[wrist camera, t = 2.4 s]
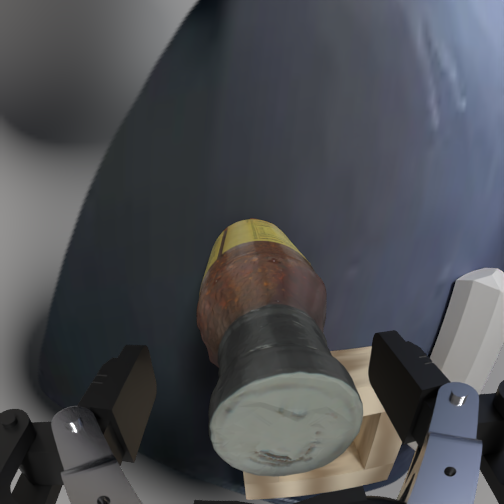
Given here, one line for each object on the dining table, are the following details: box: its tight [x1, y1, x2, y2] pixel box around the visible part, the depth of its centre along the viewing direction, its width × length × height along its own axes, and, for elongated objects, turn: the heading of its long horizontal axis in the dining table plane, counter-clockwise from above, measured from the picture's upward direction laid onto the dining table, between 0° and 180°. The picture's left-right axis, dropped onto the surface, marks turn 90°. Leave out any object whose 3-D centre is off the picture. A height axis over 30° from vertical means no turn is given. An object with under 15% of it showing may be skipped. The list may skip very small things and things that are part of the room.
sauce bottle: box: [197, 218, 363, 477], centre depth 17 cm, size 7×6×20 cm
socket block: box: [243, 346, 402, 499], centre depth 28 cm, size 16×16×6 cm
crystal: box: [408, 268, 504, 451], centre depth 28 cm, size 7×7×24 cm
